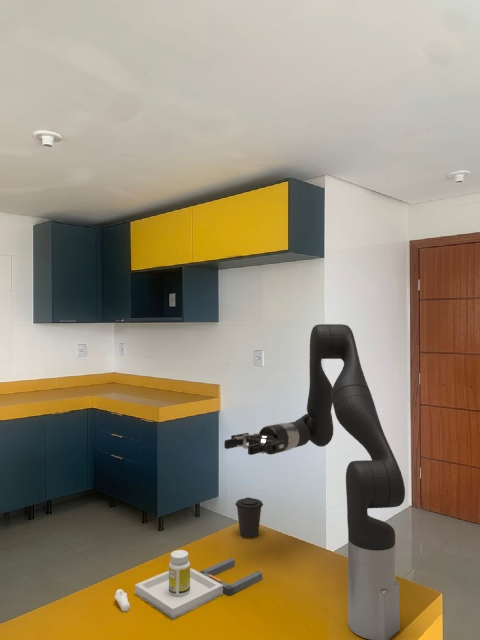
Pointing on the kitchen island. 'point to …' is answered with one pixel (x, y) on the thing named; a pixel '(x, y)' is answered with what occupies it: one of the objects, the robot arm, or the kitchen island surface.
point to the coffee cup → (249, 516)
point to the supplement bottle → (179, 573)
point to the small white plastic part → (122, 600)
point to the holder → (236, 585)
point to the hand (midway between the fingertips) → (236, 447)
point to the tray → (176, 606)
